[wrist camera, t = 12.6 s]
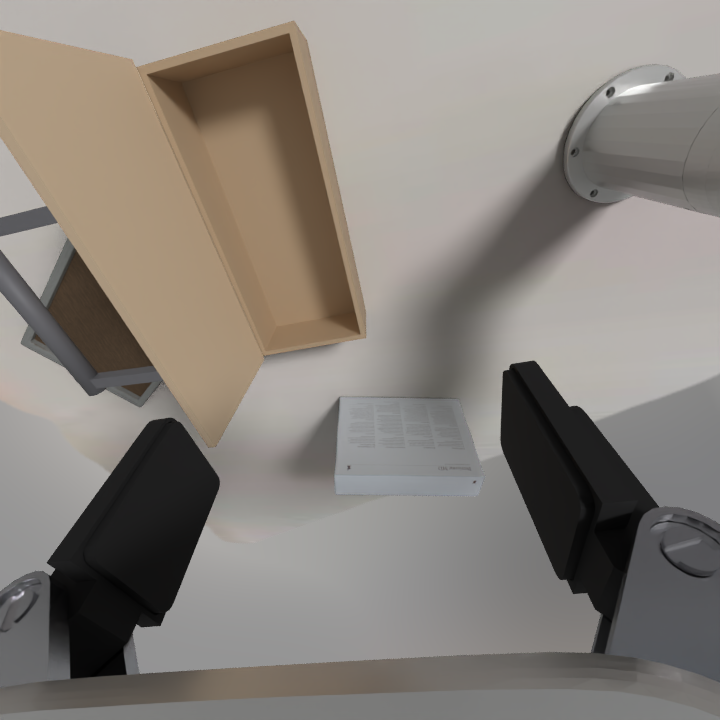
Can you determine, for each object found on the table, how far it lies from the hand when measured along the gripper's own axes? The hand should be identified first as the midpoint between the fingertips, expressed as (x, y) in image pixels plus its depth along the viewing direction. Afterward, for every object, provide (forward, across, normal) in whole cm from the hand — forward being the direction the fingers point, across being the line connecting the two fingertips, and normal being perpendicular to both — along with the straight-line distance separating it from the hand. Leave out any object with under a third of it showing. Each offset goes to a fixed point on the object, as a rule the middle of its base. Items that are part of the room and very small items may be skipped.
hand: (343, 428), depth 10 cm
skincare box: (+39, 0, +35) cm, 52 cm away
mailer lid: (+23, +17, 0) cm, 28 cm away
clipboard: (+39, +40, +10) cm, 57 cm away
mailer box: (+38, +9, 0) cm, 39 cm away
